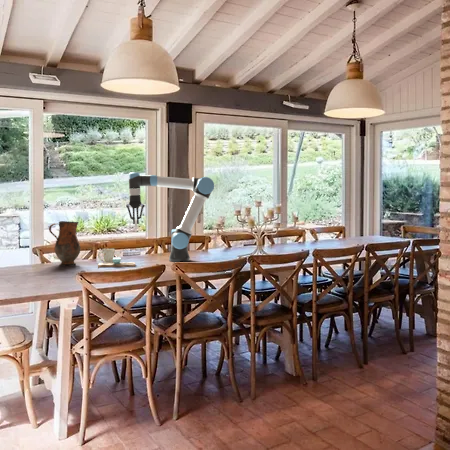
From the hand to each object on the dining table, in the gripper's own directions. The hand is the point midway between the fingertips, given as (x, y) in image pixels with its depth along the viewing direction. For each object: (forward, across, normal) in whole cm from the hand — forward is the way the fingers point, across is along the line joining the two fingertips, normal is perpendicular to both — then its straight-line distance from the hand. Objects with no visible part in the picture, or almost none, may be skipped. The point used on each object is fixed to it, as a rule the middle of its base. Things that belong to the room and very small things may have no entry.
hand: (136, 228), depth 351 cm
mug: (+24, +22, -7) cm, 33 cm away
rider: (+23, +14, +12) cm, 30 cm away
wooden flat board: (+24, +14, +12) cm, 31 cm away
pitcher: (+24, +49, -3) cm, 54 cm away
